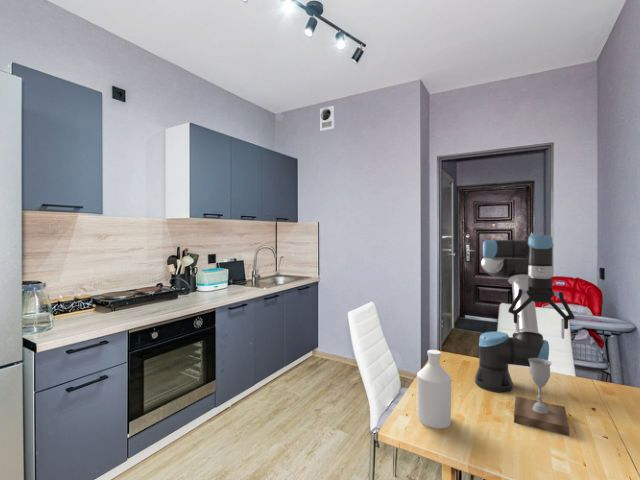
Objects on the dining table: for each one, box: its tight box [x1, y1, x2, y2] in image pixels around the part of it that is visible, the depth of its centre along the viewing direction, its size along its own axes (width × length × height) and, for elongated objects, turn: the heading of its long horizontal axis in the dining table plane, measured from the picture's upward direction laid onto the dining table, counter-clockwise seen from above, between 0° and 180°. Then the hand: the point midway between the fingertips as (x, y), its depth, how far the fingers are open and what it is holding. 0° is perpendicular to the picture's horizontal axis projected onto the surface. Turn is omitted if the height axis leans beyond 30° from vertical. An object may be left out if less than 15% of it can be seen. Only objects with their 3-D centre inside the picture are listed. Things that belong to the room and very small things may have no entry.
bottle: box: [416, 349, 452, 430], centre depth 123 cm, size 12×12×25 cm
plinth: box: [513, 395, 570, 437], centre depth 124 cm, size 16×16×3 cm
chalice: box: [528, 358, 553, 414], centre depth 124 cm, size 7×7×18 cm
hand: (539, 334), depth 124 cm, fingers open, 13 cm apart
